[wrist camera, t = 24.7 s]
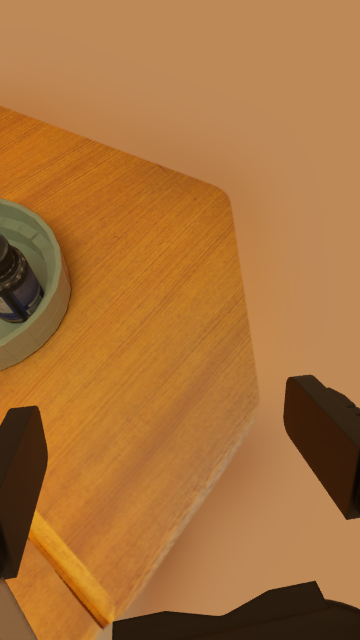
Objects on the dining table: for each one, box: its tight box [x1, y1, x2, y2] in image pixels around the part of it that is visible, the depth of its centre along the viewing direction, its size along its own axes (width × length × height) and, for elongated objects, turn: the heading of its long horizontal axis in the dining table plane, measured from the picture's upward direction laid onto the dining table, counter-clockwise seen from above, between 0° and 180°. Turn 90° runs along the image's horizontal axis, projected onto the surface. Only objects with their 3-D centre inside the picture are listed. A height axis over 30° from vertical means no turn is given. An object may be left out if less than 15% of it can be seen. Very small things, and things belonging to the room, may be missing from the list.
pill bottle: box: [0, 234, 45, 323], centre depth 38 cm, size 6×6×11 cm
